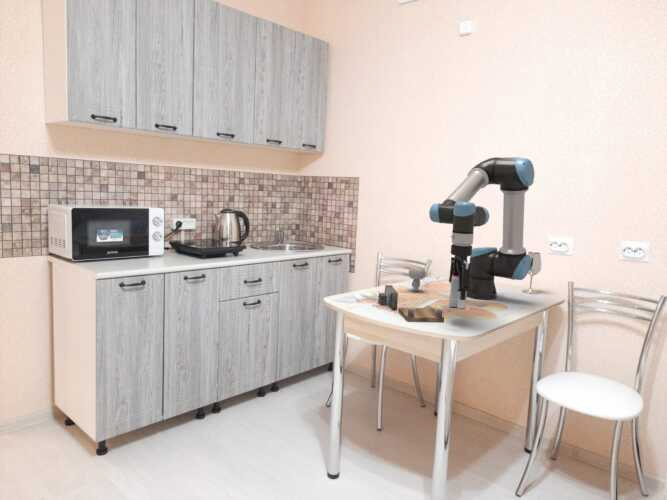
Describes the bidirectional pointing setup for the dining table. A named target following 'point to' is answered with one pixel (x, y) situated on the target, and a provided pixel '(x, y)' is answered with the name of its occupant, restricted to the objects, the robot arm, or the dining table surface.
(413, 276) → the figurine
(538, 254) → the wineglass
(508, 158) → the robot arm
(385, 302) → the stop block
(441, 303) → the dining table surface
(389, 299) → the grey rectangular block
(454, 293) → the supplement box
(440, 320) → the cabinet door
